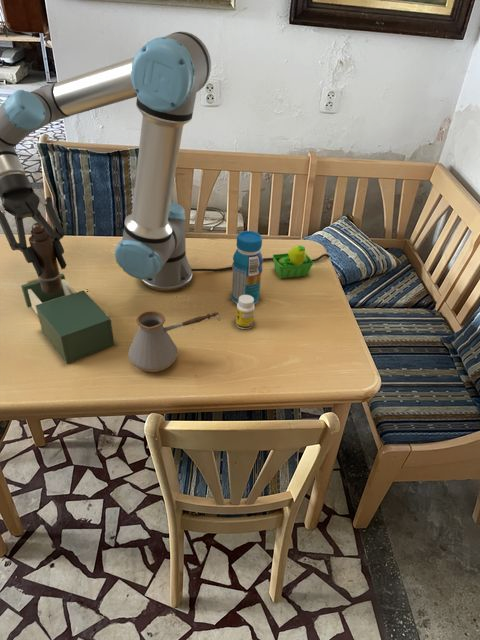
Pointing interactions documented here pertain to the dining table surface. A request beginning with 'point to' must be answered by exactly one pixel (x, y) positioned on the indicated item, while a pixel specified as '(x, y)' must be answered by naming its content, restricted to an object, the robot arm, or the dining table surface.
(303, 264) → the fruit basket
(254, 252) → the beverage bottle
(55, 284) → the pepper mill
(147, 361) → the coffee pot
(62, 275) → the drawer
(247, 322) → the supplement bottle
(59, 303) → the cabinet
